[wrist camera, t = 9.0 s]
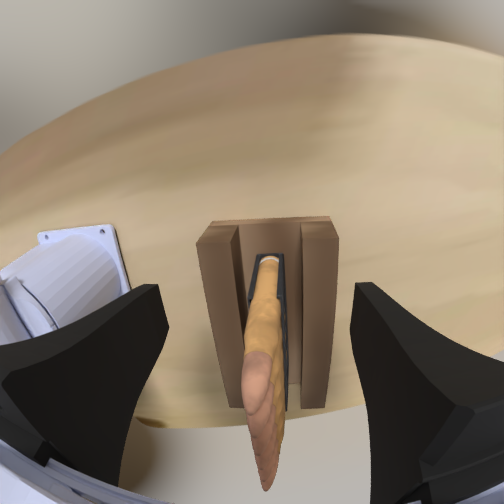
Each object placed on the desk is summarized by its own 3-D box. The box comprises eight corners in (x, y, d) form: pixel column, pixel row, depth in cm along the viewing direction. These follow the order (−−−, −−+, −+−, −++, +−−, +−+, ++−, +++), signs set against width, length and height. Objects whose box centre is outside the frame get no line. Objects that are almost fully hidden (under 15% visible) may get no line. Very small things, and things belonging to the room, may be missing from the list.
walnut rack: (236, 375, 26) (229, 407, 23) (212, 221, 20) (195, 243, 17) (322, 374, 25) (324, 407, 22) (329, 216, 19) (338, 237, 16)
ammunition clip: (256, 253, 20) (220, 398, 9) (283, 251, 20) (275, 400, 9) (267, 366, 24) (251, 494, 13) (288, 366, 24) (282, 496, 13)
